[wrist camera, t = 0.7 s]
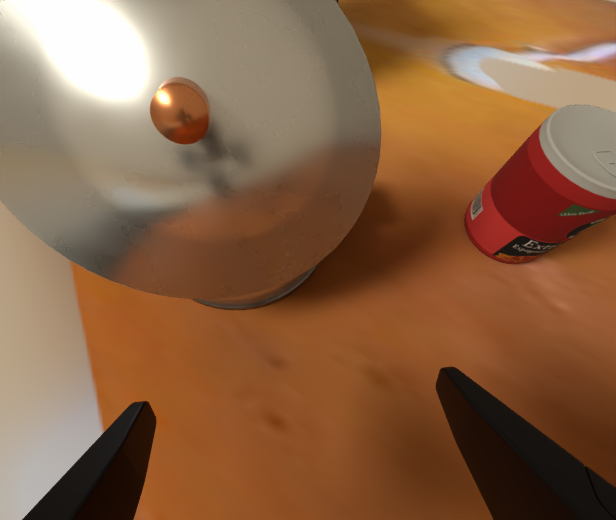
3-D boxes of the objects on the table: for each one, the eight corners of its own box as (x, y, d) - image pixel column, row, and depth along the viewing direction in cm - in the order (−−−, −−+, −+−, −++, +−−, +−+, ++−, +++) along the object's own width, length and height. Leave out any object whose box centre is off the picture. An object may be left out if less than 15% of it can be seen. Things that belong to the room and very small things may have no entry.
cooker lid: (358, 260, 20) (372, 288, 18) (113, 305, 18) (101, 341, 16) (438, -486, 6) (537, -704, 4) (-670, -649, 4) (-1489, -1229, 2)
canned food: (493, 277, 27) (610, 208, 17) (445, 209, 30) (521, 117, 20) (557, 251, 28) (699, 173, 18) (505, 189, 31) (603, 93, 21)
